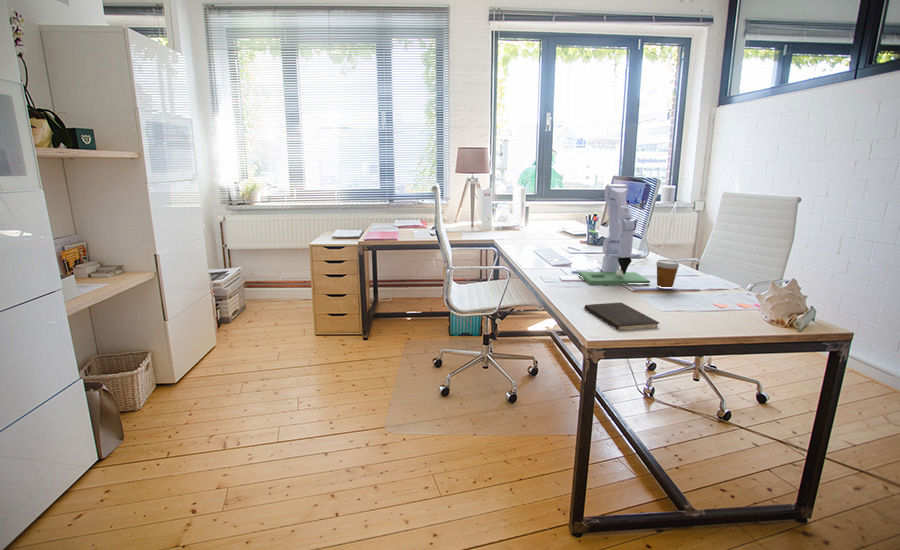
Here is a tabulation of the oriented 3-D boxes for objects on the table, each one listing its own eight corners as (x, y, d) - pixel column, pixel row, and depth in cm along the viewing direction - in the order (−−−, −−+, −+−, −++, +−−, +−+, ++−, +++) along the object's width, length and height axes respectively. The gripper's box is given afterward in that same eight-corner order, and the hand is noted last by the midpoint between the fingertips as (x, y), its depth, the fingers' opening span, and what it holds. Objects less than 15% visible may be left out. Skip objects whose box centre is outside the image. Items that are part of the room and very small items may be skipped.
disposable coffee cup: (679, 290, 210) (683, 264, 207) (658, 290, 210) (661, 263, 207) (670, 285, 219) (674, 259, 216) (649, 284, 219) (652, 259, 216)
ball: (622, 271, 226) (617, 277, 226) (617, 267, 225) (613, 273, 225) (626, 273, 223) (622, 278, 223) (622, 268, 222) (617, 274, 222)
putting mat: (578, 276, 232) (579, 272, 232) (634, 276, 234) (635, 272, 233) (589, 284, 217) (590, 280, 216) (649, 285, 218) (650, 280, 218)
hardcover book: (620, 307, 187) (621, 302, 186) (658, 328, 165) (659, 322, 165) (583, 310, 183) (584, 304, 183) (617, 332, 162) (618, 325, 161)
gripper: (613, 246, 216) (611, 275, 219) (644, 246, 217) (641, 275, 220) (607, 244, 223) (605, 272, 226) (637, 244, 224) (635, 272, 227)
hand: (623, 273), depth 224 cm, fingers closed, pressing on ball
